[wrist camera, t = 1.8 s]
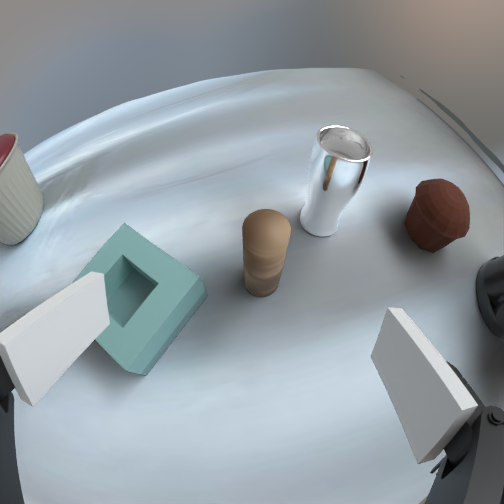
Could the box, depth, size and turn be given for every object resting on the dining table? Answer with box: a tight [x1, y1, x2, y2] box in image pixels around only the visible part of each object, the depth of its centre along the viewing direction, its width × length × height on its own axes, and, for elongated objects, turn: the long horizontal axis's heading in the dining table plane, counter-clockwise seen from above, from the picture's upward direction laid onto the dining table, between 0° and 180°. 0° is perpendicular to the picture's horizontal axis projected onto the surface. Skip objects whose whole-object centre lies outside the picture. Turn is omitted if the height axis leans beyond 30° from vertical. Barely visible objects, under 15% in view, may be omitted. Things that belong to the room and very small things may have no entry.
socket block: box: [73, 223, 208, 375], centre depth 30 cm, size 13×13×6 cm
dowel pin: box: [242, 209, 291, 297], centre depth 30 cm, size 4×4×12 cm
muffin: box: [405, 179, 470, 253], centre depth 35 cm, size 12×11×10 cm
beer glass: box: [300, 125, 373, 237], centre depth 33 cm, size 7×7×15 cm
